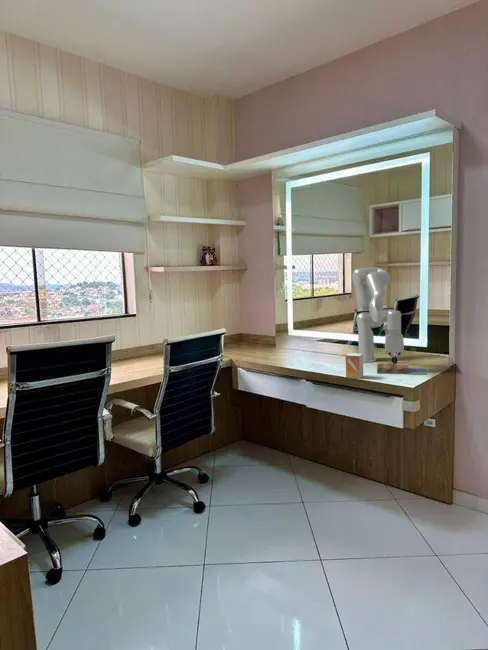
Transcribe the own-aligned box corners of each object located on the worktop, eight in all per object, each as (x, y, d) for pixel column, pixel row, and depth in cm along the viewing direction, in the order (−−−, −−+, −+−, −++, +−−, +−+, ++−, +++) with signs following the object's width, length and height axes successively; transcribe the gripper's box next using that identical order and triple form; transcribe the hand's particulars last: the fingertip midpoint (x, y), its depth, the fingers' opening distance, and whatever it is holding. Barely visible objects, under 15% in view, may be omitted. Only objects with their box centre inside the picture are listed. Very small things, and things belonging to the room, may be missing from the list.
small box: (345, 377, 243) (345, 355, 242) (349, 375, 249) (349, 352, 247) (360, 379, 239) (359, 355, 237) (363, 376, 244) (363, 353, 242)
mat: (407, 374, 243) (407, 373, 243) (405, 368, 257) (405, 367, 257) (426, 374, 240) (426, 374, 240) (423, 368, 254) (423, 367, 254)
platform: (377, 373, 249) (377, 368, 248) (377, 368, 261) (377, 363, 261) (407, 373, 244) (407, 368, 243) (405, 368, 256) (405, 363, 256)
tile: (397, 367, 247) (397, 364, 246) (396, 364, 255) (396, 360, 255) (408, 367, 245) (408, 364, 245) (407, 364, 253) (407, 361, 253)
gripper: (380, 333, 248) (381, 365, 250) (408, 333, 243) (408, 365, 245) (380, 331, 255) (381, 362, 257) (407, 331, 250) (408, 362, 252)
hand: (394, 363), depth 251 cm, fingers closed
